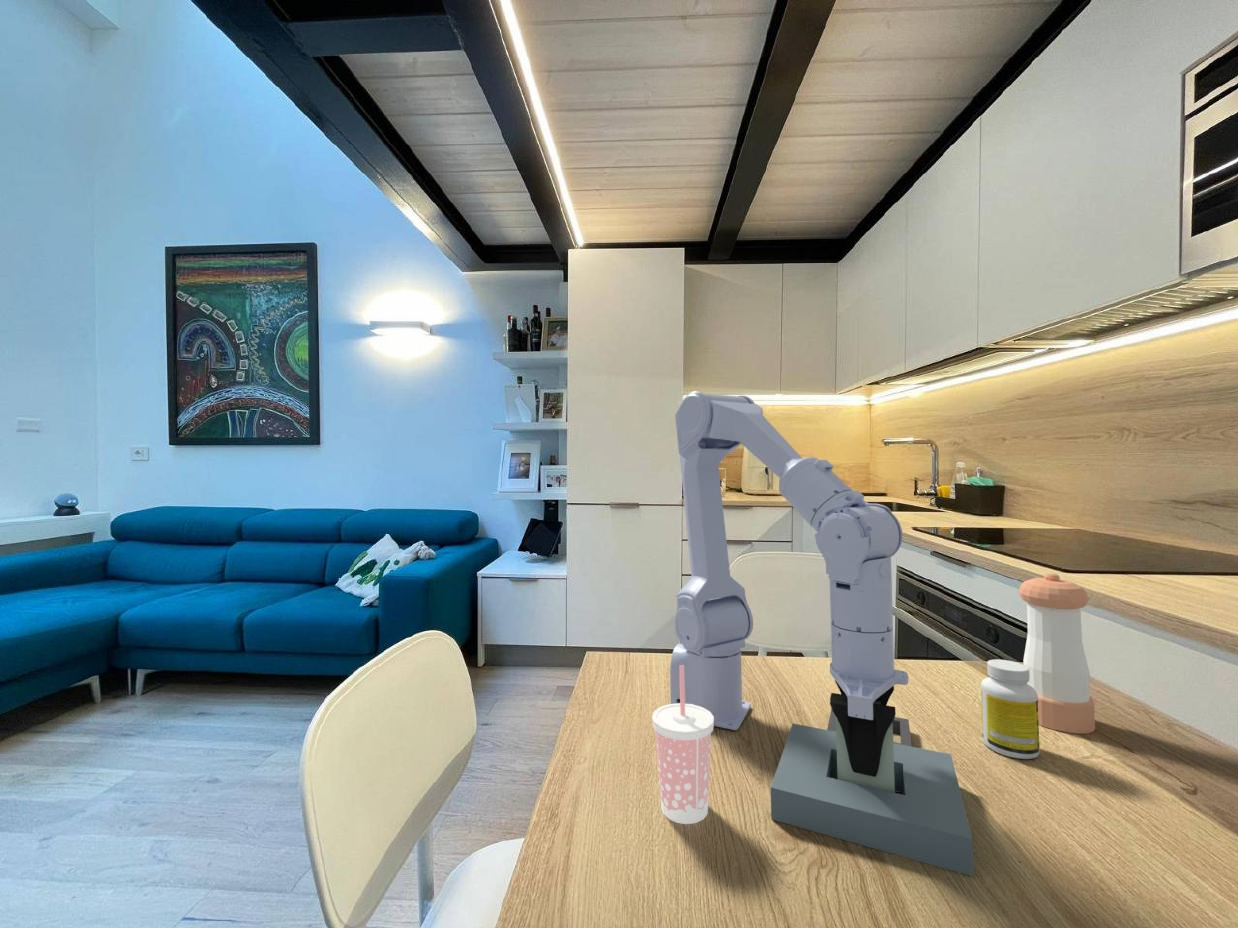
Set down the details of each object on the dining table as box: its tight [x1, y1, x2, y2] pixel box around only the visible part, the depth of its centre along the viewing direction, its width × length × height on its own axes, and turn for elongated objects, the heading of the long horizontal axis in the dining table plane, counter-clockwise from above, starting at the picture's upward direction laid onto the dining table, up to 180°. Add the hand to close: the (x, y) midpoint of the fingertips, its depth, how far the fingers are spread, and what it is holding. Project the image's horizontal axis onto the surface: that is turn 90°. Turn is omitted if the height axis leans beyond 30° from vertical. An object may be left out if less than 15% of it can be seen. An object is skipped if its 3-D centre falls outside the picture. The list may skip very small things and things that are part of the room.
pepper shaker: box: [1018, 572, 1096, 735], centre depth 67 cm, size 7×7×19 cm
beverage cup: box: [651, 665, 715, 825], centre depth 51 cm, size 6×6×14 cm
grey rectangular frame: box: [826, 707, 913, 747], centre depth 63 cm, size 9×8×2 cm
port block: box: [770, 723, 975, 878], centre depth 51 cm, size 16×14×3 cm
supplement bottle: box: [980, 659, 1040, 760], centre depth 61 cm, size 5×5×10 cm
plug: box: [836, 701, 896, 793], centre depth 51 cm, size 5×4×8 cm
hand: (865, 760), depth 51 cm, fingers closed on plug, 4 cm apart
